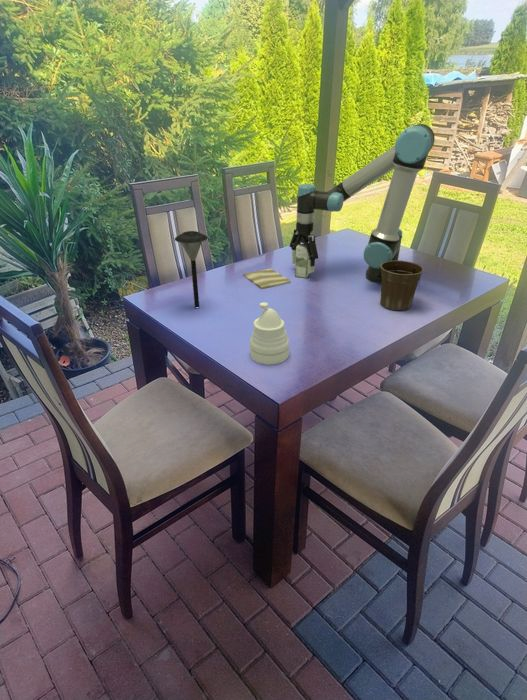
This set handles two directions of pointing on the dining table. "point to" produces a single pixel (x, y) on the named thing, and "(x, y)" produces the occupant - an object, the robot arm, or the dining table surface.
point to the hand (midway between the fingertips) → (302, 267)
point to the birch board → (266, 278)
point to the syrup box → (301, 261)
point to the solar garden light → (192, 254)
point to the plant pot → (399, 284)
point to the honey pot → (269, 338)
